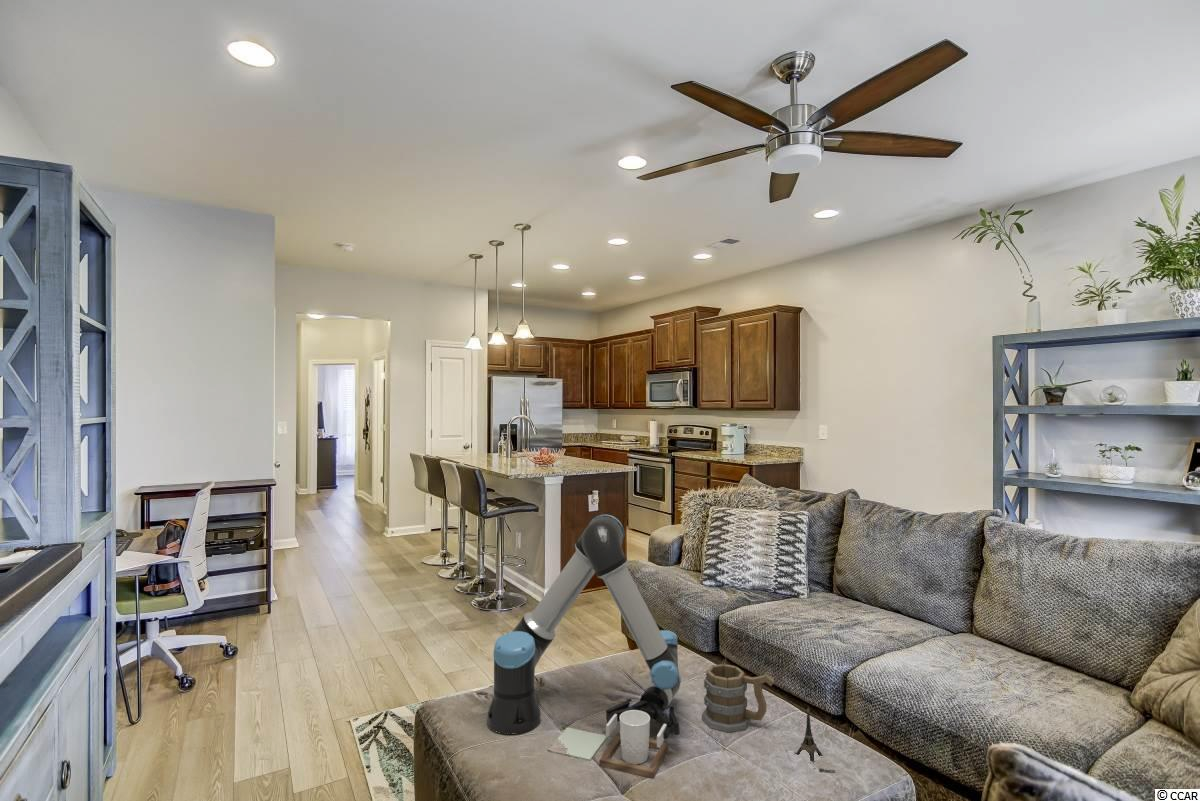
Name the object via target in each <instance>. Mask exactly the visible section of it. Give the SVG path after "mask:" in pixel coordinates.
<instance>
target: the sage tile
mask: <svg viewBox="0 0 1200 801" xmlns="http://www.w3.org/2000/svg"><path fill="white" fill-rule="evenodd" d="M557 739H558V740H560V741H561V744H562V743H563V744H564V746H565V748H568V749H567V750H568V751H567V750H566V751H567V753H566V754H568V753H569V755H572V756H575V757H577V758H576V759H579V758H581V759H580V760H584V761H589V762H590V761H592V759H593V758H594V756H595V754H596V753H597V752H598V751H599V749H600V748H601V746H602V745H603V744H604V742H605V741H606V740H607V739H608V737H607V736H606V734H600V733H595V732H590V731H585V730H583V729H582V730H581V729H576V728H573V727H566V728H565V729H564V730H563V731H562V733H561V734H560V735H559V736H558V738H556V740H557ZM560 741H559V742H560ZM575 757H574V758H575Z"/></svg>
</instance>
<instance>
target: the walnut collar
mask: <svg viewBox="0 0 1200 801" xmlns="http://www.w3.org/2000/svg"><path fill="white" fill-rule="evenodd" d="M669 745H670V744H669V742H668V741H667V742H666V741H663V743H662V745H661V746H660V748H658V747H657V739H652V738H649V748H648V749H653V750H657V753H655V756H654V758H653V759H652V761H651V763H650V765H649V767H648V766H643V765H641V764H632V763H627V762H625V761H624V760H623V761H622V760H617V759H614V758H613V756H614V755H615V753H616V752H617V750H618V749H619V748H620V747H621V739H620V731H619V732H618V733H617V734H616V736H615V737H614V738H613V739H612V740H611V743H610V744H609V746H608V747H607V748H606V750H605V751H604V752H603V753H602V755H601V756H600V758H599V764H598V765H599V767H602V768H608V769H612V770H616V771H620V772H623V773H629V774H632V775H637V776H640V777H645V778H649V779H654V777H655V776H656V774H657V772H658V770H659V768H660V766H661V765H662V763H663V760H664V758H665V757H666V754H667V752H668V750H669V748H670V747H669Z"/></svg>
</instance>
